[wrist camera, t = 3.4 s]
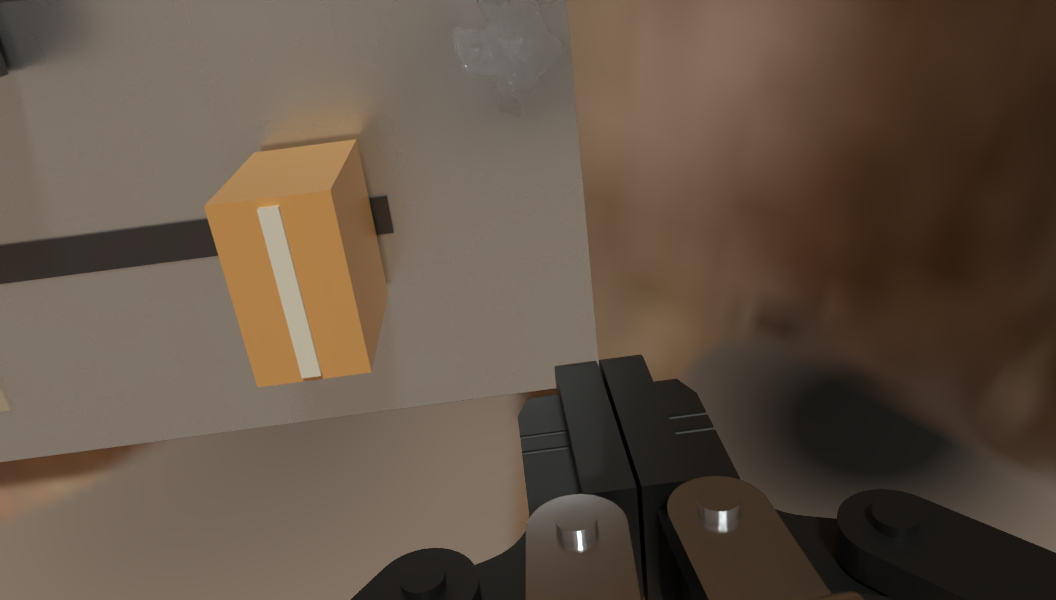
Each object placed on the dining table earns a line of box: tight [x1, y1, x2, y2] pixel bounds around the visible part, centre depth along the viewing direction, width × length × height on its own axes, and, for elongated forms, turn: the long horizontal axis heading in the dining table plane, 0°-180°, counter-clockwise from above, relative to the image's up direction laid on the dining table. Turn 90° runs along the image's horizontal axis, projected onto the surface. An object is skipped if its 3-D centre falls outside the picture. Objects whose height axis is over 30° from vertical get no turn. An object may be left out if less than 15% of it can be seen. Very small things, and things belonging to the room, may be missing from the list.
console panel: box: [0, 0, 599, 462], centre depth 22 cm, size 30×20×7 cm, turn 97°
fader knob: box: [204, 139, 388, 388], centre depth 23 cm, size 3×5×5 cm, turn 7°
